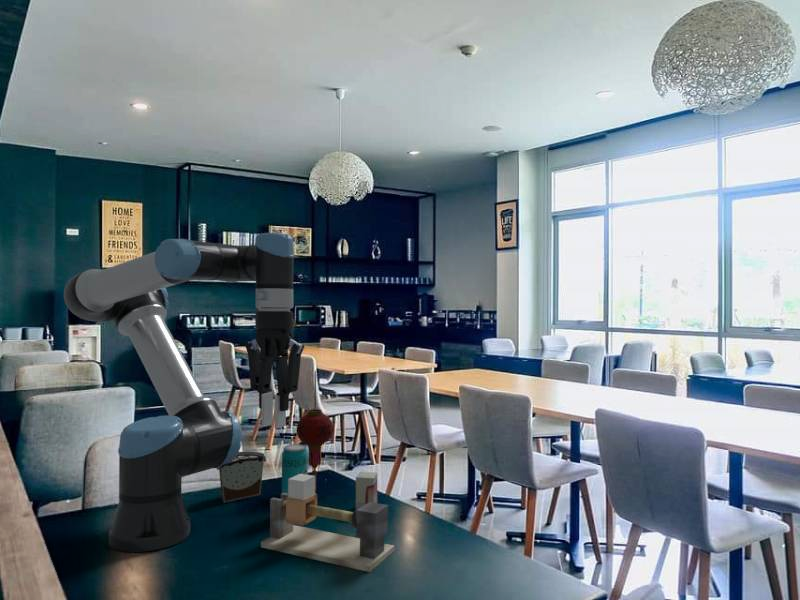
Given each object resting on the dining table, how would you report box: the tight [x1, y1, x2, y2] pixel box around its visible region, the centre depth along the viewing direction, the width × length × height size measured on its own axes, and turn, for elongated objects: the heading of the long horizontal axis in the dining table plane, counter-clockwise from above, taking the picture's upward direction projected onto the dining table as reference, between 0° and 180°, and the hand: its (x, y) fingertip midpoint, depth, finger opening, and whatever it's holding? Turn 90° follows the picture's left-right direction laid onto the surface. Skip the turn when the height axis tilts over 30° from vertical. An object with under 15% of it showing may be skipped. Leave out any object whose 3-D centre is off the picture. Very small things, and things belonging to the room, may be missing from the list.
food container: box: [215, 451, 267, 504], centre depth 146 cm, size 12×6×10 cm, turn 130°
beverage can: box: [281, 443, 309, 494], centre depth 133 cm, size 6×6×15 cm
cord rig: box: [260, 492, 396, 573], centre depth 114 cm, size 24×10×10 cm, turn 64°
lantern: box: [296, 370, 334, 490], centre depth 151 cm, size 10×10×30 cm
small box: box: [355, 471, 378, 509], centre depth 137 cm, size 5×4×8 cm
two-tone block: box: [286, 474, 318, 527], centre depth 117 cm, size 4×5×8 cm
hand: (273, 425), depth 120 cm, fingers open, 3 cm apart
